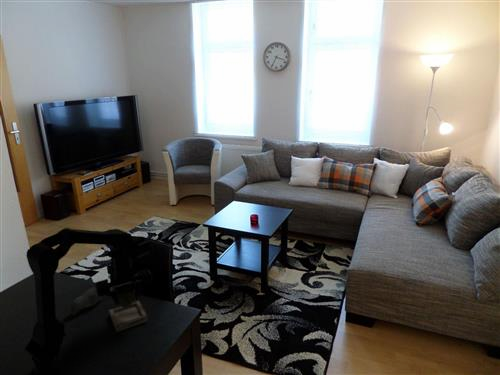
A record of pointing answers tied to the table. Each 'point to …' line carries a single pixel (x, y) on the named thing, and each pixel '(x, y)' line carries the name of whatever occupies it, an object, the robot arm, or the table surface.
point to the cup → (125, 294)
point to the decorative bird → (85, 300)
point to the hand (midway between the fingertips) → (126, 302)
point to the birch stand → (128, 316)
